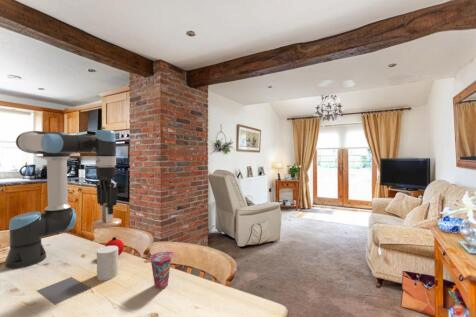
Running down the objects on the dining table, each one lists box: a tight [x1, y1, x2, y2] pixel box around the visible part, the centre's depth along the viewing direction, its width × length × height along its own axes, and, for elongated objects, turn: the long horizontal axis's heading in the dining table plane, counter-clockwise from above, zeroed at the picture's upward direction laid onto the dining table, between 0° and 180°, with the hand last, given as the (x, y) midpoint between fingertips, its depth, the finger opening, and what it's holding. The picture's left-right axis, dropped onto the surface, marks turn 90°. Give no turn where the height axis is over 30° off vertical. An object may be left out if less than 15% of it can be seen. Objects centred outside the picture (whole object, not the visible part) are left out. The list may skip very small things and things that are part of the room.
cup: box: [149, 251, 175, 290], centre depth 97 cm, size 9×8×12 cm
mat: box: [36, 276, 91, 305], centre depth 93 cm, size 16×12×1 cm
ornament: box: [104, 236, 125, 257], centre depth 123 cm, size 9×9×10 cm
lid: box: [91, 203, 122, 229], centre depth 103 cm, size 11×11×9 cm
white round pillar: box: [96, 246, 120, 281], centre depth 103 cm, size 8×8×12 cm
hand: (107, 220), depth 103 cm, fingers closed on lid, 3 cm apart
